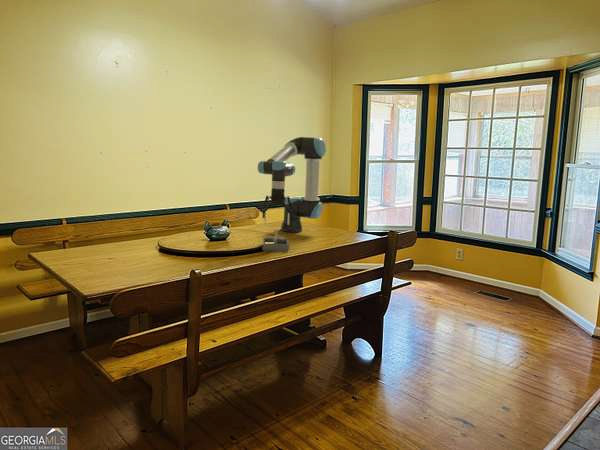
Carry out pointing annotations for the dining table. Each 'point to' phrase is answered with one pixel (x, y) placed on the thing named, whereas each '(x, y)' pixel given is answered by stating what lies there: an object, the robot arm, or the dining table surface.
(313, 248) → the dining table surface
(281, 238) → the pipe connector
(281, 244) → the tray
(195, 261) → the dining table surface
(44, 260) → the dining table surface
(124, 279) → the dining table surface
